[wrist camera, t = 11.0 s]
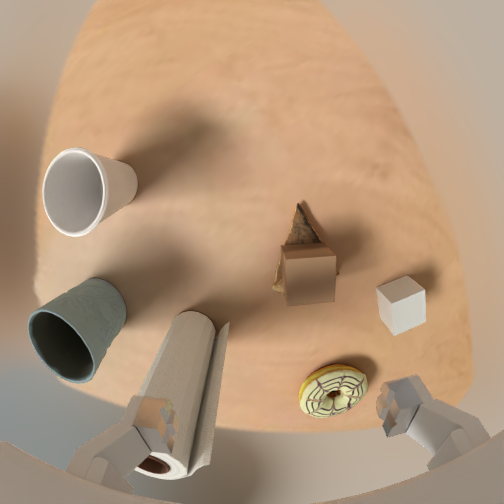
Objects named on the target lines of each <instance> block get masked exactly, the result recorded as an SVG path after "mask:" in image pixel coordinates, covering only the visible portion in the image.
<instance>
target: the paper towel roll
mask: <svg viewBox="0 0 504 504" xmlns="http://www.w3.org/2000/svg"><path fill="white" fill-rule="evenodd" d="M229 325H230V322H228V323H226V324H225V325H224V326H223V328H222V329H221V330H220V332H219V334H218V336H217V338H216V339H215V333H216V330H215V328H214V325H213V323H212V321H211V320H210V319H209V318H208V317H207V316H205V315H203V314H201V313H199V312H194V311H187V312H182V313H181V314H179V315H178V316H176V317H175V319H174V321H173V323H172V324H171V326H170V328H169V330H168V333H167V335H166V337H165V339H164V341H163V343H162V345H161V347H160V349H159V351H158V353H157V355H156V357H155V359H154V361H153V363H152V366H151V368H150V370H149V372H148V374H147V376H146V378H145V380H144V383H143V385H142V387H141V389H140V391H139V393H138V396H147V397H154V398H163V399H170V400H171V402H172V404H173V406H172V410H174V411H175V412H176V414H177V417H178V429H177V433H176V434H175V435H174V436H172V437H173V439H174V441H175V442H174V446H173V450H172V454H165V453H157V452H152V453H151V454H150V455H149V456H148V457H147V458H146V459H145V460H144V461H143V462H142V463H141V464H139V465H138V466H137V467H136V468H135V469H134V470H136V471H138V472H141V473H143V474H145V475H148V476H152V477H156V478H160V479H170V480H174V479H179V478H183V477H187V476H191V475H192V474H193V473H194V472H195V470H196V469H198V468H200V467H202V466H204V465H209V464H210V460H211V452H212V445H213V437H214V430H215V423H216V415H217V408H218V401H219V394H220V387H221V380H222V373H223V366H224V359H225V352H226V345H227V338H228V332H229Z"/></svg>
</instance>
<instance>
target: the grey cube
mask: <svg viewBox="0 0 504 504" xmlns="http://www.w3.org/2000/svg"><path fill="white" fill-rule="evenodd" d="M376 290H377V297H378V305H379V313H380V318H381V320H382V321H383V322H384V323H385V325H386V326H387V327H388V329H389V330H390V331H391V333H392V334H393V335H394V336H395V335H398V334H400V333H402V332H405V331H407V330H409V329H411V328H413V327H416V326H418V325H420V324H422V323H424V322H426V299H425V289H424V288H423V287H422V286H420V285H419V284H418V283H416V282H415V281H414V280H413V279H411V278H410V277H409V276H407V275H406V276H404V277H401V278H399V279H396V280H394V281H391V282H389V283H386V284H384V285H381V286H378V287H376Z"/></svg>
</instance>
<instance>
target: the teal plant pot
mask: <svg viewBox="0 0 504 504" xmlns="http://www.w3.org/2000/svg"><path fill="white" fill-rule="evenodd" d="M126 314H127V311H126V305H125V302H124V300H123V298H122V296H121V295H120V293H119V292H118V290H117V289H116V288H115V287H114V286H113V285H111V284H110V283H108V282H107V281H105V280H102V279H97V278H93V279H89V280H86V281H84V282H83V283H81V284H80V285H78V286H76V287H74V288H72V289H70V290H69V291H68V292H67V293H63V294H62V295H60V296H58V297H57V298H55V299H53V300H52V301H50V302H49V303H47V304H45V305H44V306H42V307H40V308H39V309H37V310H36V311H34V312H33V313H32V314H31V316H30V318H29V321H28V334H29V338H30V341H31V344H32V345H33V348H34V350H35V352H36V353H37V355H38V356H39V358H40V359H41V360H42V362H43V363H44V364H45V365H46V366H47V367H48V368H49V369H50V370H51V371H52V372H53V373H55V374H56V375H57V376H59V377H61V378H62V379H64V380H66V381H69V382H72V383H77V384H78V383H85V382H88V381H90V380H91V379H92V378H93V376H94V375H95V373H96V371H97V369H98V367H99V365H100V363H101V361H102V359H103V358H104V356H105V354H106V351H107V348H109V347H110V345H111V342H112V341H113V339H114V338H115V337H116V336H117V335H118V333H119V332H120V330H121V328H122V327H123V325H124V323H125V321H126Z"/></svg>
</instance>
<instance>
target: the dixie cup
mask: <svg viewBox="0 0 504 504" xmlns="http://www.w3.org/2000/svg"><path fill="white" fill-rule="evenodd" d="M137 188H138V180H137V176H136V173H135V171H134V170H133V168H132V167H131V166H129V165H128V164H126V163H123V162H120V161H117V160H113V159H110V158H107V157H103V156H100V155H97V154H93V153H92V152H91V151H89V150H87V149H84V148H80V147H74V148H69V149H66V150H64V151H63V152H61V153H60V154H58V155H57V156H56V157H55V158H54V160H53V161H52V162H51V164H50V166H49V167H48V169H47V172H46V175H45V178H44V182H43V203H44V207H45V211H46V213H47V216H48V218H49V220H50V221H51V223H52V224H53V225H54V226H55V227H56V228H57V229H58V230H59V231H60V232H62V233H63V234H65V235H68V236H73V237H79V236H83V235H86V234H88V233H90V232H91V231H92V230H94V229H95V228H96V227H97V225H98V224H99V223H100V222H102V221H103V220H105V219H106V218H108V217H109V216H111V215H112V214H114V213H115V212H117V211H118V210H120V209H121V208H123V207H124V206H126V205H127V204H129V203H130V202H131V201H132V200H133V198H134V197H135V195H136V192H137Z"/></svg>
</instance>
